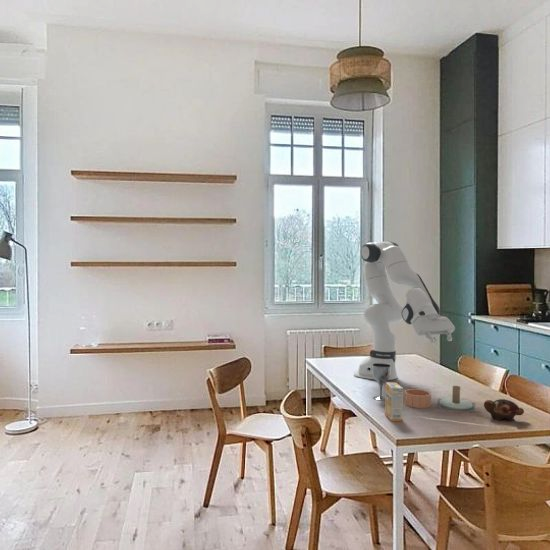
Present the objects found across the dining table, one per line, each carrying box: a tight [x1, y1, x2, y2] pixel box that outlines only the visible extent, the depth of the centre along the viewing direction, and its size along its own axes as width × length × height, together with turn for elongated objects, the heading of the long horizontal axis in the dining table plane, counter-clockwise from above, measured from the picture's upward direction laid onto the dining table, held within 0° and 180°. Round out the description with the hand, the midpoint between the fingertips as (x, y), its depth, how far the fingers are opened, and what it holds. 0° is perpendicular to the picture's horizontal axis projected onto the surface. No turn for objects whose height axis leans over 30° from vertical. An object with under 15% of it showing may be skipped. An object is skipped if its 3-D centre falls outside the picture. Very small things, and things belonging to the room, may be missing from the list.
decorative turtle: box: [483, 398, 525, 422], centre depth 193 cm, size 10×15×8 cm, turn 94°
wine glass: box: [372, 363, 391, 402], centre depth 220 cm, size 8×8×15 cm
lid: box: [440, 385, 472, 411], centre depth 209 cm, size 13×13×8 cm
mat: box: [436, 398, 476, 413], centre depth 210 cm, size 15×15×1 cm
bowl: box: [403, 388, 432, 409], centre depth 210 cm, size 11×11×6 cm
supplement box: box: [384, 382, 404, 422], centre depth 192 cm, size 8×5×13 cm, turn 5°
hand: (442, 341), depth 221 cm, fingers open, 8 cm apart
